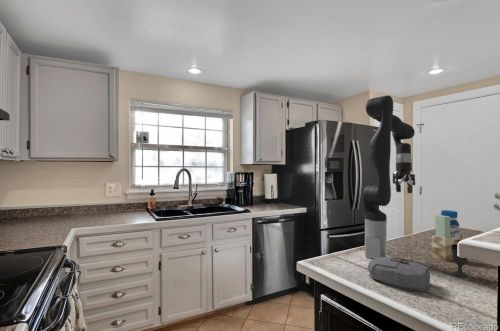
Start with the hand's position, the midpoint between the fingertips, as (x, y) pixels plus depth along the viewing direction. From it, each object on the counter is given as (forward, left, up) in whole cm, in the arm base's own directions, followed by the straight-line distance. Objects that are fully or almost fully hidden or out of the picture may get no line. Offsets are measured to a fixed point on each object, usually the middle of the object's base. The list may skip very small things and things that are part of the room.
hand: (404, 192), depth 141 cm
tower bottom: (-10, -17, -29) cm, 35 cm away
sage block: (-9, -17, -19) cm, 27 cm away
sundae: (-29, -23, -29) cm, 47 cm away
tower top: (-10, -17, -24) cm, 31 cm away
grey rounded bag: (-53, -5, -29) cm, 60 cm away
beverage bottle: (+9, -19, -29) cm, 36 cm away
